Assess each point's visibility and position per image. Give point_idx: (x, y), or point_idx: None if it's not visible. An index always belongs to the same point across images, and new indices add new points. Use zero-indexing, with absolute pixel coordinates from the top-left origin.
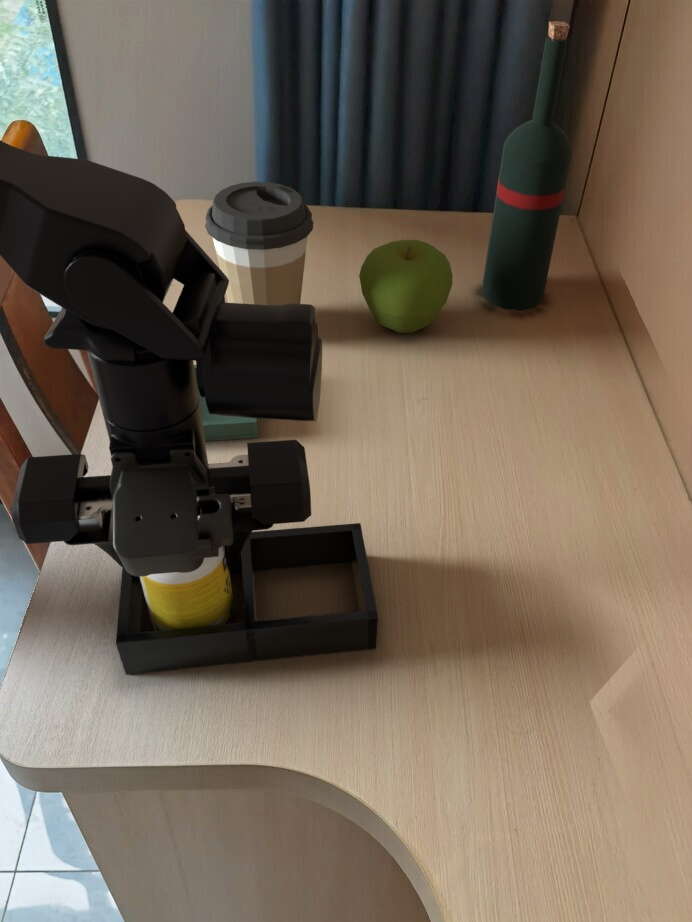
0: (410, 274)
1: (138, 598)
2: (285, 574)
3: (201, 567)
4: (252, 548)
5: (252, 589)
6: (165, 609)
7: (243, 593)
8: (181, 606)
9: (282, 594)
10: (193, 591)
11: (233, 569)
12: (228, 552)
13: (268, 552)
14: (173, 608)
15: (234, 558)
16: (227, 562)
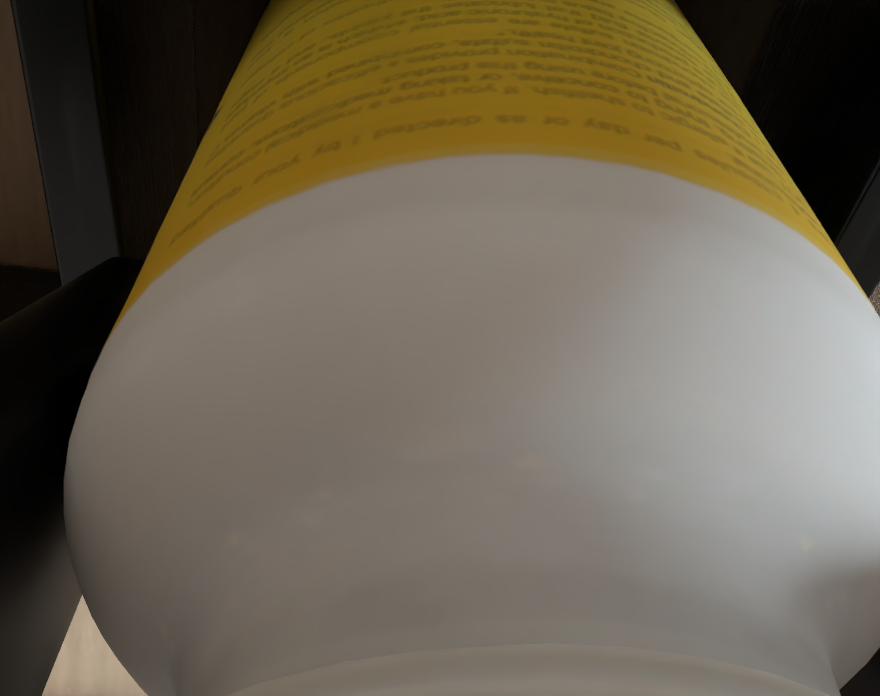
0: None
1: None
2: (5, 233)
3: (290, 297)
4: None
5: (30, 100)
6: (691, 50)
7: (96, 81)
8: (575, 16)
9: (6, 124)
10: (449, 80)
11: (105, 261)
12: (11, 414)
13: None
14: (639, 25)
15: (13, 342)
16: (107, 321)
